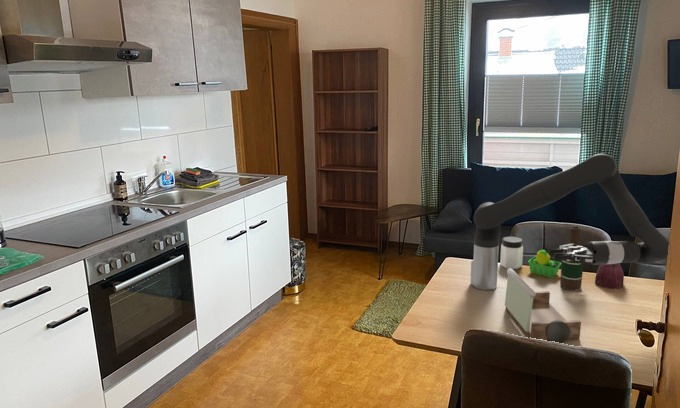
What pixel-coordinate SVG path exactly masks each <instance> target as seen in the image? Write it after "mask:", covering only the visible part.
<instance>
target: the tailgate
mask: <svg viewBox="0 0 680 408" xmlns="http://www.w3.org/2000/svg"><path fill="white" fill-rule="evenodd" d="M506 273H507V281H506V282H507V283H506V289H505V299H504V306H505V308H506V307H507V309H508V310H509V311H510V312H511V314H512V315H513V316H514V317H515V319H516V320H517V321H518V322H519V324H520V325H521V326H522V327H523V329H524V330H525V331H526V332H529V328H530V321H531V313H532V305H533V297H535V295H536V293H535V292H536V291H535V290H534V289H533V288H532V287H530V285H529V284H527V282H525V281H524V279H523V278H521V277H520V275H519V274H517V272H516V271H515V269H511V268H510V269H508V268H507V269H506ZM507 309H506V310H507Z"/></svg>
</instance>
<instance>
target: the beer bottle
mask: <svg viewBox="0 0 680 408" xmlns="http://www.w3.org/2000/svg"><path fill="white" fill-rule="evenodd" d="M569 231H570V234H569V241H568V244H574V247H576V246H581V245H580V244H581V243H580V240H581V239H580V237H581V235H580V233H581V232H582V229H581V228H580V227H579V226H572V227H570V229H569ZM560 267H561V268H560V278H559V279H560V280H559V283H560V288H562V289H564V290H567V291H578V290H580V289H581V288H582V282H583V273H584V271H583V269H584V264H579V263H571V261H567V260H561V266H560Z"/></svg>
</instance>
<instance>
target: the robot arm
mask: <svg viewBox="0 0 680 408" xmlns="http://www.w3.org/2000/svg"><path fill="white" fill-rule="evenodd" d="M595 183H597V184H598V185H599V186H600V188H602V189H603V191H604V192H605V194H606V195H607V196H608V198H609V200H610V201H611V203H612V206H613V208H614V210H615V211H616V213H617V216H618V217H619V219H620V221H621V223H622V224H623V225H624V227H625V229H626V230H627V232H628V233H629V235H630V236H631V237H633V238H638V239H640V240H641V241H642V242H635V241H633V240H624V241H623V240H620V241H614V240H600V241H598V240H597V241H588V242H587V243H586V245H585V246H582V245H580V246H576V247H574V244H569V243H568V244H561V245H559V247H558V248H550V249H548V252H547V253H548V255H549V256H550V257H553V261H562V260H567V261H571V263H579V264H583V265H591V266H597V265H598V266H600V265H603V264H616V263H620V264H627V263H634V264H635V263H636V264H637V263H638V264H653V263H657V262H661V261H663V260H667V259H668V258H667V255H668V245H669V243H670V242H669V240H668V239H667V238H666V236H665V235H664V234H663V233H662V232H660V231H659V230H658V229H657V227H656V226H654V225H653V224H652V223H651V221H650V220H649V218H648V216H647V215H646V214H645V212H644V210H643V209H642V207H641V205H639V203H638V202H637V200H636V199H635V197H634V196H633V195H632V194H631V193H630V191H629V190H628V187H627V186H626V184H625V183H624V180H623V179H622V176H621V174H620V171H619V168H618V165H617V161H616V160H615V159H614V157H612V156H611V155H609V154H607V153H596V154H593V155H592V156H590V157H589V158H587V159H585V160H583V161H582V162H580V163H578V164H576V165H574V166H571V167H570V168H568V169H565V170H563V171H559V172H558V173H557V172H556V173H554V174H552V175H549V176H546V177H544V178H541V179H538V180H536V181H534V182H532V183H530V184H528V185H525V186H524V187H522V188H520V189H519V190H517V191H516V192H514V193H513V194H511V195H510V196H508V197H507V198H504V199H502V200H500V201H497V202H491V201H486V202H483V203H481V204H479V206H478V207H477V208H476V210H475V212H474V214H473V223H474V225H475V233H474V236H473V237H474V239H473V240H474V241H473V260H472V261H471V262H470V283H469V284H471V285H472V286H473V287H474V288H475V289H478V290H482V291H483V290H484V291H490V290H495V289H497V286H498V272H499V271H498V266H499V247H500V239H501V230H502V229H501V228H502V223H505V222H507V221H509V220H511V219H513V218H515V217H517V216H521V215H523V214H527V213H530V212H533V211H535V210H538V209H541V208H543V207H545V206H547V205H550V204H553V203H554V202H557V201H559V200H560V199H562V198H563V197H566V196H567V195H569V194H570V193H572V192H573V191H576V190H577V189H581V188H583V187H585V186H589V185H591V184H595Z"/></svg>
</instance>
